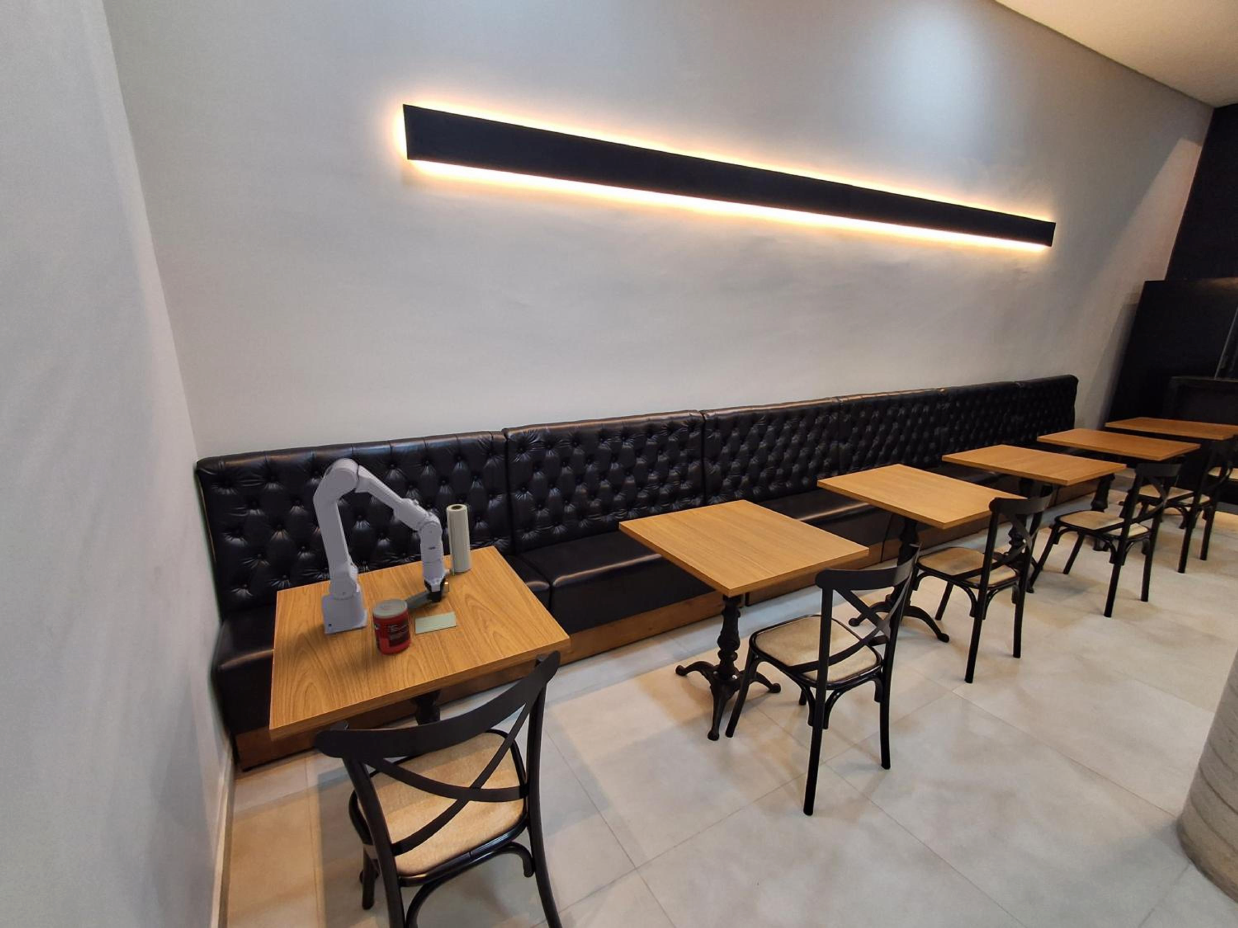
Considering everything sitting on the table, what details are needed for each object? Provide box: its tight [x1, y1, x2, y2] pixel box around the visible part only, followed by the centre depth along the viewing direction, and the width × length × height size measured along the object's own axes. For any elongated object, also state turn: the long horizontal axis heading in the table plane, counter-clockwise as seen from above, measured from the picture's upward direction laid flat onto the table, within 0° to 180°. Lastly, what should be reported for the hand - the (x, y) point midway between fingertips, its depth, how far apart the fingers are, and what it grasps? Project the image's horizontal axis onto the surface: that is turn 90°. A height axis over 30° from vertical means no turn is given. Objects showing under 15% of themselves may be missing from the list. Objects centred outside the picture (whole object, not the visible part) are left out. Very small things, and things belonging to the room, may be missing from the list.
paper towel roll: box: [445, 503, 472, 576], centre depth 160 cm, size 7×6×21 cm
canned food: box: [371, 598, 412, 656], centre depth 124 cm, size 8×8×11 cm
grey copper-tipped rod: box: [403, 580, 450, 613], centre depth 141 cm, size 18×3×3 cm, turn 143°
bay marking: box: [414, 611, 457, 635], centre depth 135 cm, size 10×7×1 cm
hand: (436, 601), depth 143 cm, fingers closed
